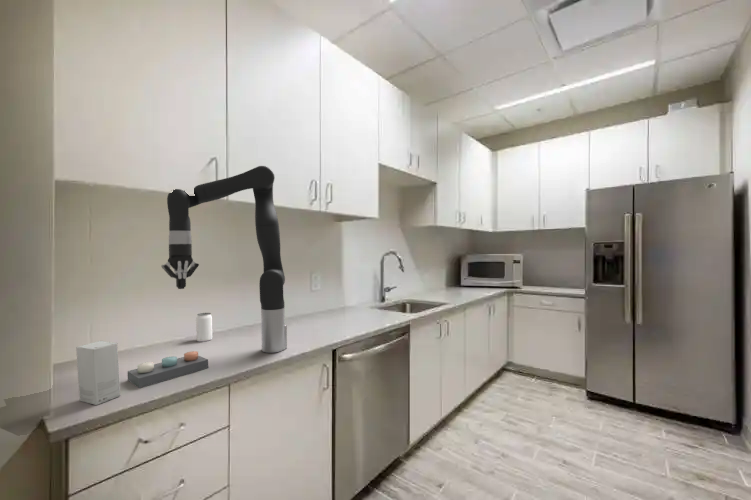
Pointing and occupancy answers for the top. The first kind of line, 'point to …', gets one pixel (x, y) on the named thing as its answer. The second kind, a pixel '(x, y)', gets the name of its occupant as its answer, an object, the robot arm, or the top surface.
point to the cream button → (145, 367)
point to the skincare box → (98, 372)
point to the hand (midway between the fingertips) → (181, 288)
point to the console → (166, 371)
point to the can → (204, 327)
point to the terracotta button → (191, 356)
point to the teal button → (169, 361)
